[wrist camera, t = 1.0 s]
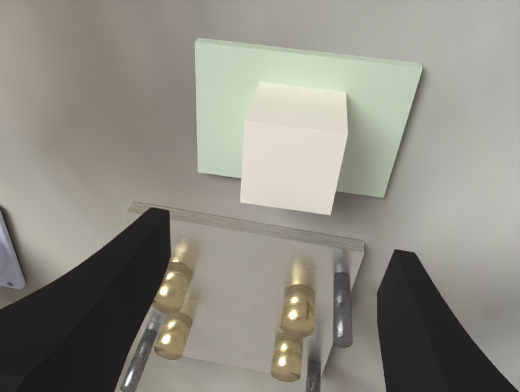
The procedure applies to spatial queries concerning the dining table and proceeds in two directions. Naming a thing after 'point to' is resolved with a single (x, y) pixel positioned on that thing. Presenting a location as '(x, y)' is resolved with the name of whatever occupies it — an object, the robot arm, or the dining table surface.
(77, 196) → the dining table surface
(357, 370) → the dining table surface
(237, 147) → the sage board
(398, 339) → the robot arm
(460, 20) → the dining table surface
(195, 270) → the plate
